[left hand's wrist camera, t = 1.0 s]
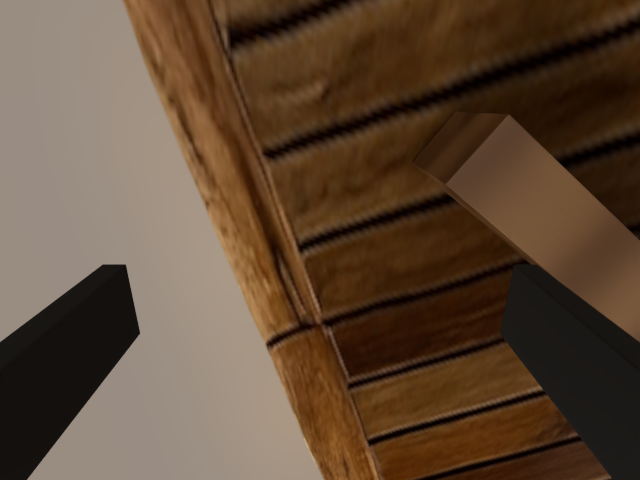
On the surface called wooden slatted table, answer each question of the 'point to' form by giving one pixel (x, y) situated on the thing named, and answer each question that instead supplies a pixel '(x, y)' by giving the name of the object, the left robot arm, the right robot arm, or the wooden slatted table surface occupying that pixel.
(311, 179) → the wooden slatted table surface
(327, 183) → the wooden slatted table surface
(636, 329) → the bar
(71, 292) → the left robot arm
